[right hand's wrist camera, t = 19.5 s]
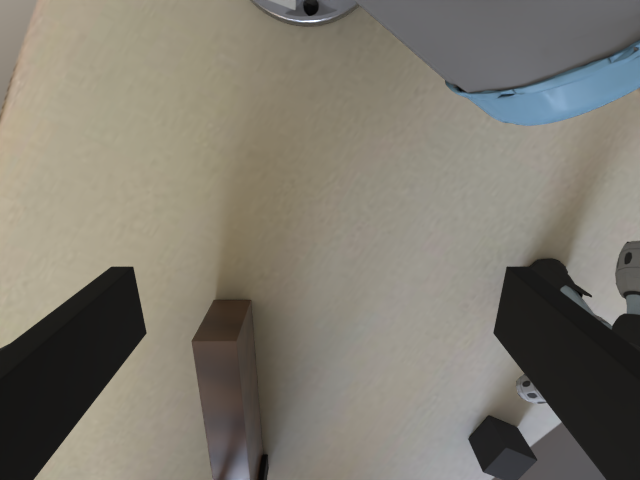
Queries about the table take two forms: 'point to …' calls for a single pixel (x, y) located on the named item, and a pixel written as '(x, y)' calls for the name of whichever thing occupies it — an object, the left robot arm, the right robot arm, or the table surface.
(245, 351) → the walnut plank
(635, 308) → the robot
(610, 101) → the right robot arm
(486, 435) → the charcoal rubber block
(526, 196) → the table surface
